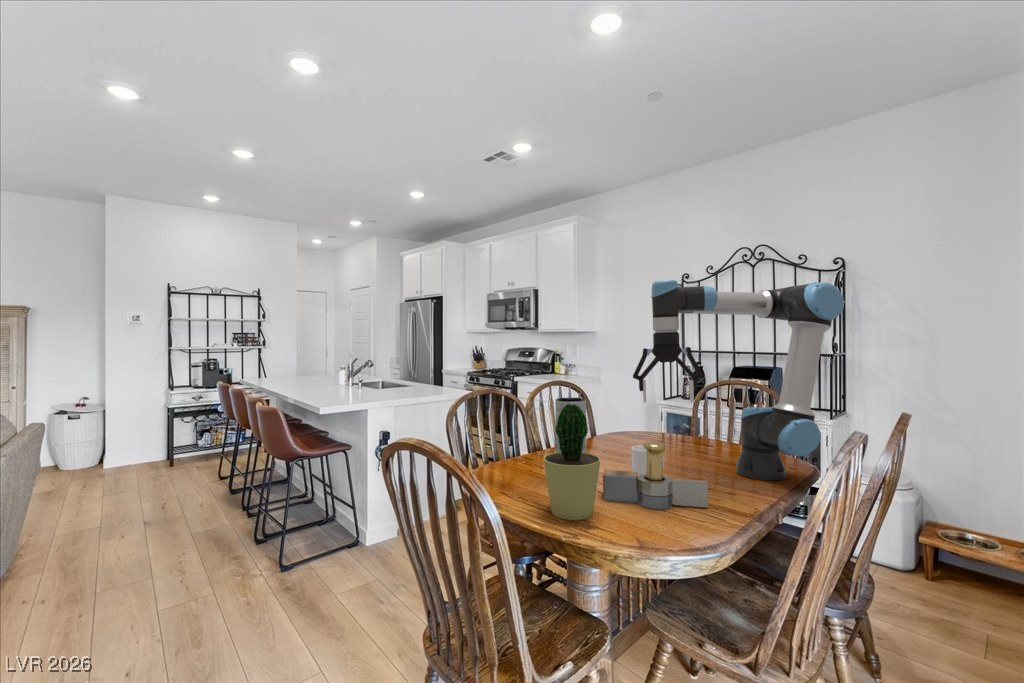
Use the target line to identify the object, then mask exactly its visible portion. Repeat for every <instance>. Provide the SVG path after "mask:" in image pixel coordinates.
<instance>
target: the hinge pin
mask: <svg viewBox="0 0 1024 683" xmlns="http://www.w3.org/2000/svg"><path fill="white" fill-rule="evenodd" d="M643 445H644V448H645V449H646V454H647V480H649V481H656V482H659V481H663V475H664V469H663V468H664V466H663V457H664V454H663V453H664V452H663V450H664V451H665V450H666V444H665V443H664V442H660V441H659V442H658V441H646V442H643Z"/></svg>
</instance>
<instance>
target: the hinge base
mask: <svg viewBox="0 0 1024 683" xmlns="http://www.w3.org/2000/svg"><path fill="white" fill-rule="evenodd" d="M604 479H605V499H604V501H606V502H618V503H629V504H631V503H632V504H637V505H639V506H640V507H642V508H644V509H645V508H646V509H649V510H656V511H657V510H659V511H661V510H662V511H663V510H669V509H671V508H672V507H673V493H672V494H670V495H668V496H650V495H646V494H642V493H640V492H639V491H638V489H637V476H621V475H605V476H604Z"/></svg>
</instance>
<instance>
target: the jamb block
mask: <svg viewBox="0 0 1024 683" xmlns="http://www.w3.org/2000/svg"><path fill="white" fill-rule="evenodd" d="M605 475H621V476H637V489H638V472H633V471H632V470H631V471H630V470H613V469H604V470H603V473H602V479H603V480H602V494H603V495H602V497H603V500H605V479H604V476H605Z"/></svg>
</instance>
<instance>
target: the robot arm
mask: <svg viewBox="0 0 1024 683" xmlns="http://www.w3.org/2000/svg"><path fill="white" fill-rule="evenodd" d="M650 297H651V307H652V331H653V333H652V339H653V340H652V341H653V343H652V344H653V346H652V348H646V347H644V348H643V349H642V354H641V355H642V356H641V357H640V359H639V361H638V363H637V366H636V368H635V370H634V373H633V374H632V378H633V379H635V380H638V389H639V392H642V396H643V397H642V398H643V400H642V401H643V403H647V383H646V380H644V379H645V378H646V376H648V375H649V373H650V372H651V371H652V370H653V369H654V367H655V366H656V365H657V364H658V363H659V362H660V363H663V364H664V363H673V362H676V363H677V364H678V365H679V366H680V367H681V368H682V369H683V370H684V372H685V373H686V374H688V376H690V378H691V379H688V380H689V382H688V383H689V401H690V403H695V396H694V395H695V393H694V392H695V391H697V390H698V380H699V379H702V378H704V376H705V375H704V373H703V372H702V370H701V368H700V366H699V365H698V363H697V361H696V359H695V357H694V356H693V353H692V348H691V347H689V346H686V347H682V348H681V345H680V332H678V331H680V320H679V319H680V318H679V317H680V316H679V314H695V315H696V314H697V315H700V314H701V315H742V316H743V315H744V316H745V315H746V316H747V315H748V316H749V315H750V316H757V317H758V318H760V319H771V320H780V321H786V322H787V324H788V325H789V327H790V328H791V335H790V341H789V346H788V351H787V357H786V362H785V368H784V374H783V379H782V384H781V390H780V395H779V401H778V403H777V404H775V405H773V406H769V407H768V406H767V407H766V406H765V407H763V406H762V407H761V406H760V407H758V406H757V407H756V406H755V407H754V406H753V407H745V408H743V409H742V410H741V418H740V420H741V452H740V453H739V454H740V455H739V457H738V460H737V462H736V465H735V466H736V467H735V471H736V473H737V474H738V475H739V476H742V477H745V478H747V479H748V478H749V479H753V480H760V481H782V480H785V479H786V478H787V469H786V467H785V464H784V461H783V458H782V456H781V453H784V454H786V455H788V456H789V455H790V456H795V457H804V456H808V455H809V454H811V453H812V452H815V449H817V447H818V446H819V444H820V441H821V435H822V434H821V429H819V425H818V424H816V422H815V417H816V414H815V413H814V412H813V410H812V409H811V408H812V407H811V406H812V401H813V396H814V395H813V394H814V392H815V384H816V380H817V379H816V378H817V374H818V373H817V372H818V368H819V363H820V361H819V360H820V356H821V351H822V345H823V340H824V334H825V333H826V332H828V330H830V329H831V327H832V322H833V320H835V319H837V318H838V317H839V316H840V315H841V314H842V313H843V311H844V307H845V300H844V296H843V294H842V292H840V290H839V288H838V287H837V286H835V285H834V284H832V283H829V282H826V281H825V282H815V281H814V282H811V283H806V284H799V285H793V286H788V287H787V286H786V287H781V288H776V289H762V290H760V291H758V292H747V291H746V292H744V291H743V292H742V291H741V292H740V291H717V290H716V288H715V287H713V286H711V285H710V286H708V285H707V286H706V285H700V286H699V285H698V286H679V283H678V281H677V280H676V279H660V280H655V281H654V282H652V285H651V296H650ZM651 353H652V354H653V356H654V358H653V360H652V361H651V362H650V363H649V364H648V366H647V367H646V368H645V369H644V371H642V373H641V374H640V372H641V370H642V368H643V366H644V365H645V364H644V363H645V362H646V359H647V358H648V356H650V354H651ZM681 353H683V354H684V355H686V357H687V358H688V360H689V362H690V364H691V366H692V368H693V369H694V371H695V373H696V374H695V373H694V372H693V371H692V370H691V369H690V368H689V367H688V366H687V365H686V364H685V362H684V361H682V359H681V358H680V357H679V356H680V354H681ZM639 374H640V375H639Z"/></svg>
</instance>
